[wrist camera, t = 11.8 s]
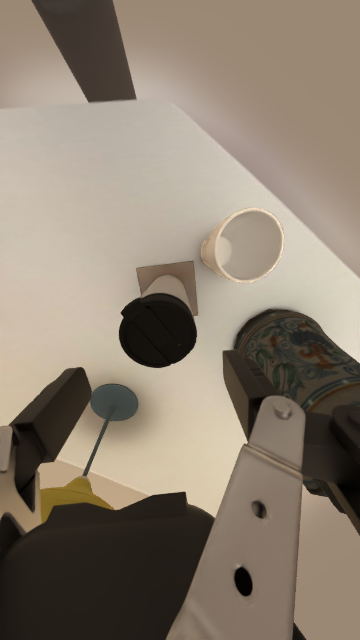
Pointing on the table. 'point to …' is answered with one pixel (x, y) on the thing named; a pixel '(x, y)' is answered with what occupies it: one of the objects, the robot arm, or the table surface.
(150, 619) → the robot arm
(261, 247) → the drinking glass
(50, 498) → the cocktail glass
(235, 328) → the table surface
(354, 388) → the beer stein
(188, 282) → the coaster
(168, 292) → the travel mug
